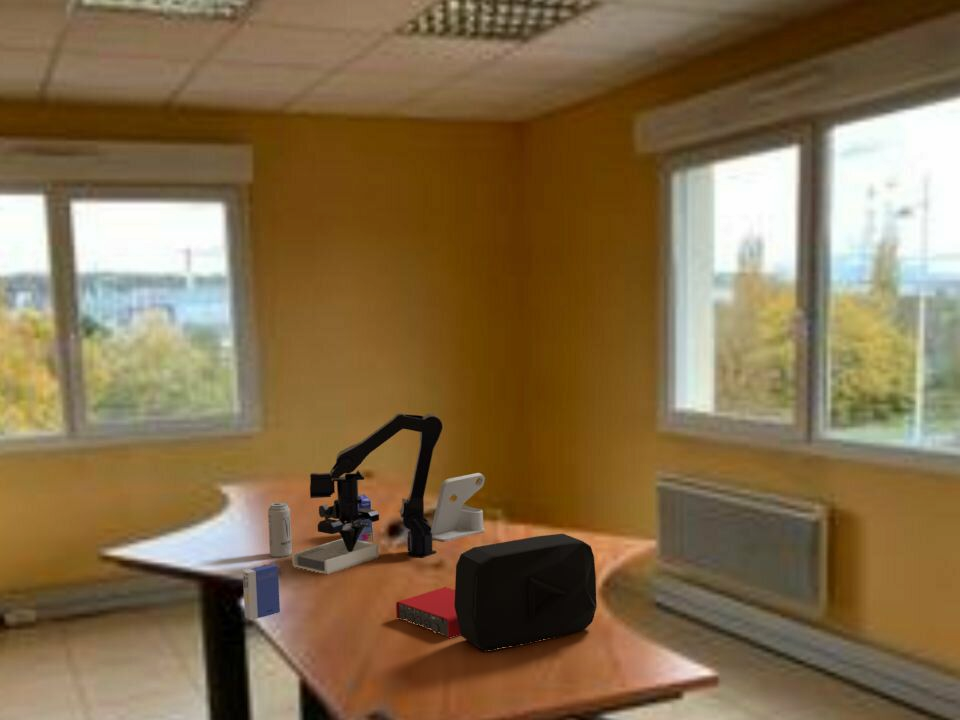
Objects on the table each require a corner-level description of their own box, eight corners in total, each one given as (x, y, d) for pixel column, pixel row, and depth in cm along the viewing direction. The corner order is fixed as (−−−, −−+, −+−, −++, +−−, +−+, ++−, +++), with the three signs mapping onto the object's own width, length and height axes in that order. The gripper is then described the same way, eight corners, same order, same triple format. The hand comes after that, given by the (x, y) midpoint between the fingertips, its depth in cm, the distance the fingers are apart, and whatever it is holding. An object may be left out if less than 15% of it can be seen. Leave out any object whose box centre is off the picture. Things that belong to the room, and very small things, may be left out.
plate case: (378, 558, 272) (378, 544, 272) (327, 576, 257) (326, 561, 257) (344, 551, 280) (344, 537, 280) (292, 568, 265) (292, 553, 265)
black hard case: (574, 617, 221) (572, 529, 219) (606, 633, 210) (605, 541, 209) (454, 643, 207) (451, 550, 205) (482, 662, 196) (479, 564, 194)
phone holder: (465, 525, 307) (463, 468, 306) (487, 530, 300) (486, 472, 298) (422, 536, 295) (420, 477, 294) (444, 542, 288) (442, 481, 287)
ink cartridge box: (348, 534, 299) (347, 487, 298) (366, 533, 301) (365, 486, 300) (355, 542, 290) (353, 494, 289) (374, 540, 292) (372, 492, 291)
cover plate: (348, 562, 265) (348, 553, 265) (324, 571, 258) (323, 561, 258) (322, 557, 272) (322, 548, 271) (298, 565, 264) (297, 556, 264)
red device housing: (396, 622, 222) (395, 600, 221) (444, 607, 231) (443, 586, 231) (449, 642, 209) (448, 619, 208) (497, 624, 218) (496, 602, 218)
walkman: (273, 612, 230) (271, 561, 229) (280, 615, 228) (277, 564, 227) (243, 620, 224) (241, 569, 223) (250, 623, 222) (247, 571, 221)
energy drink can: (286, 559, 274) (284, 506, 273) (266, 559, 275) (264, 506, 274) (295, 553, 280) (292, 501, 278) (275, 553, 281) (273, 501, 280)
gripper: (351, 486, 284) (353, 540, 285) (302, 499, 269) (304, 555, 270) (379, 491, 277) (381, 545, 278) (331, 503, 262) (333, 561, 264)
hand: (350, 551), depth 273 cm, fingers closed
